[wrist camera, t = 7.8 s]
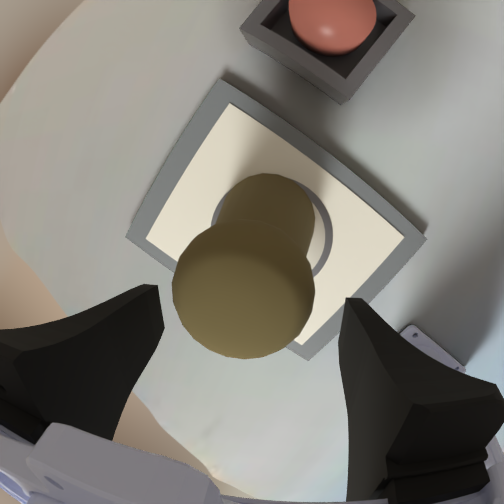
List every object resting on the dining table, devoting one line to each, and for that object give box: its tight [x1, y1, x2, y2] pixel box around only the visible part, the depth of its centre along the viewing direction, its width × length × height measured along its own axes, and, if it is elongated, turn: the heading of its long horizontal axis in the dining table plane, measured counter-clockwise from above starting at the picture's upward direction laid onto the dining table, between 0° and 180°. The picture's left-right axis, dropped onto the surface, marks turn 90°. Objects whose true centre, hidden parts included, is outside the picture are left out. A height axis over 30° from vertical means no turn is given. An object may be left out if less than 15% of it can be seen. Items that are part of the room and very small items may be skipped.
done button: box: [289, 0, 376, 56], centre depth 13 cm, size 4×4×2 cm
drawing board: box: [125, 78, 427, 361], centre depth 21 cm, size 17×13×1 cm
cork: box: [172, 173, 315, 359], centre depth 15 cm, size 6×6×11 cm
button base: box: [239, 0, 415, 105], centre depth 14 cm, size 7×7×4 cm
